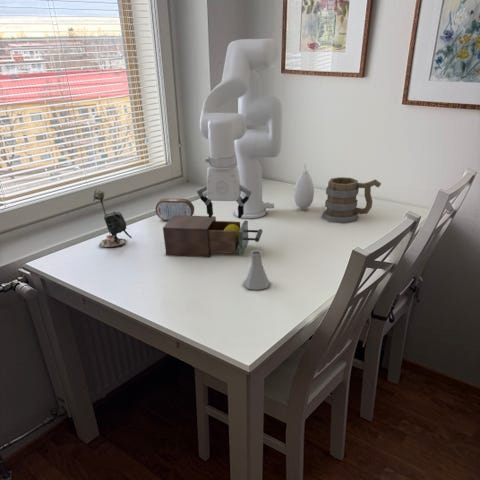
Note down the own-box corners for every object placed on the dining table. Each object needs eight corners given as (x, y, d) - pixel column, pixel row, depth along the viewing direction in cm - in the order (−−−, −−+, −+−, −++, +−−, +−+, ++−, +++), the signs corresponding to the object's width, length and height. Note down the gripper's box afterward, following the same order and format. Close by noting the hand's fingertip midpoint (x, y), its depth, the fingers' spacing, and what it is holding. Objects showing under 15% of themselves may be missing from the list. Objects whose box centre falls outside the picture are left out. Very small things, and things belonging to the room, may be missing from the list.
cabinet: (217, 243, 161) (215, 216, 156) (209, 257, 151) (207, 229, 146) (176, 241, 163) (174, 215, 158) (166, 255, 153) (162, 227, 148)
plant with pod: (125, 249, 158) (116, 191, 148) (95, 247, 161) (83, 190, 150) (135, 240, 165) (126, 184, 155) (106, 238, 167) (95, 183, 157)
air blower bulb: (315, 207, 191) (318, 162, 181) (309, 213, 185) (311, 166, 175) (297, 205, 194) (298, 160, 184) (291, 211, 188) (292, 165, 178)
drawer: (263, 243, 157) (263, 221, 153) (258, 256, 148) (258, 232, 144) (209, 241, 160) (208, 219, 156) (202, 253, 151) (200, 230, 147)
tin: (195, 218, 183) (193, 197, 179) (193, 221, 180) (191, 200, 176) (158, 218, 185) (155, 197, 180) (156, 221, 182) (153, 200, 178)
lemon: (236, 243, 155) (246, 226, 150) (230, 251, 152) (240, 234, 146) (222, 234, 155) (232, 216, 149) (216, 242, 151) (225, 225, 145)
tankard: (320, 220, 177) (322, 181, 169) (327, 210, 187) (330, 172, 179) (373, 226, 170) (378, 185, 162) (378, 215, 180) (383, 176, 172)
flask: (243, 280, 136) (242, 248, 130) (267, 278, 136) (267, 246, 131) (245, 291, 129) (244, 258, 124) (271, 289, 130) (271, 256, 125)
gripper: (191, 164, 138) (196, 219, 147) (248, 165, 135) (250, 221, 144) (198, 158, 144) (202, 212, 154) (252, 159, 142) (253, 213, 151)
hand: (225, 216), depth 149 cm, fingers open, 9 cm apart
